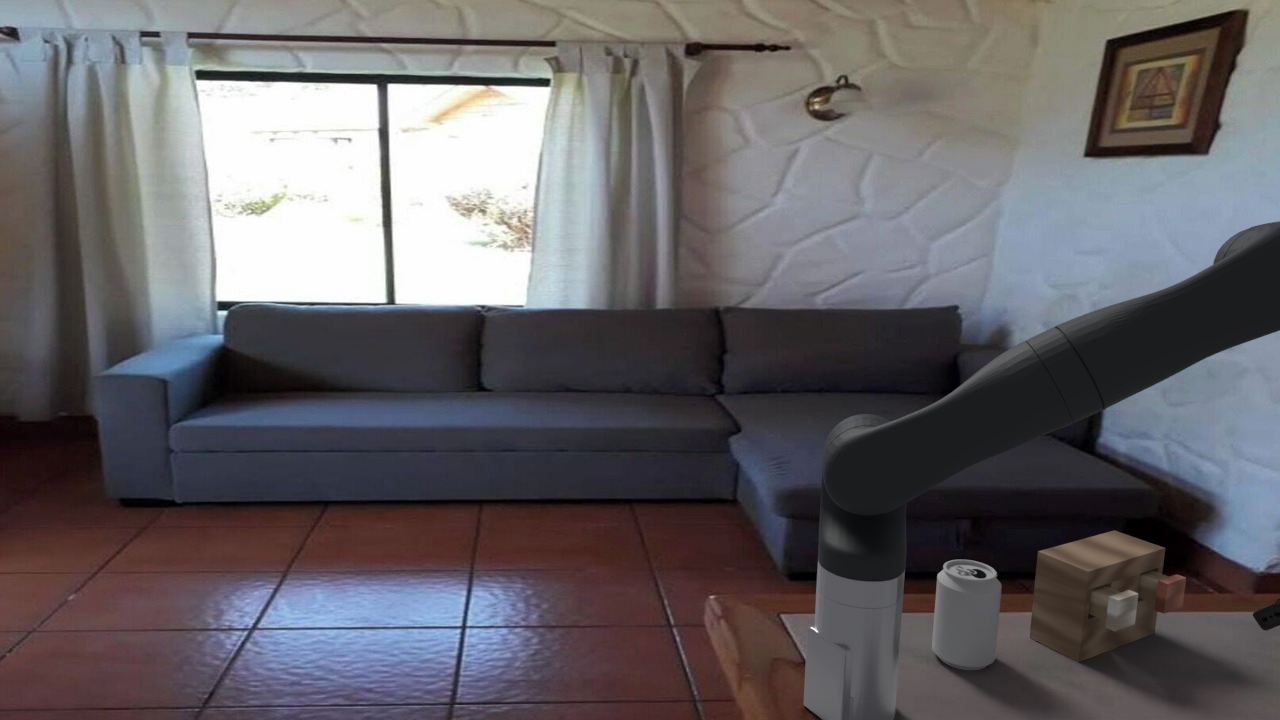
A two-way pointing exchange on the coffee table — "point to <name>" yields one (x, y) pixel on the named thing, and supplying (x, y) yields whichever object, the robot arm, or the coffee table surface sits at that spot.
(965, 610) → the can
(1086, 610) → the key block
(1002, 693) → the coffee table surface
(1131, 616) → the key cream
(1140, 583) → the key red
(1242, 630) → the coffee table surface
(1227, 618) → the coffee table surface
